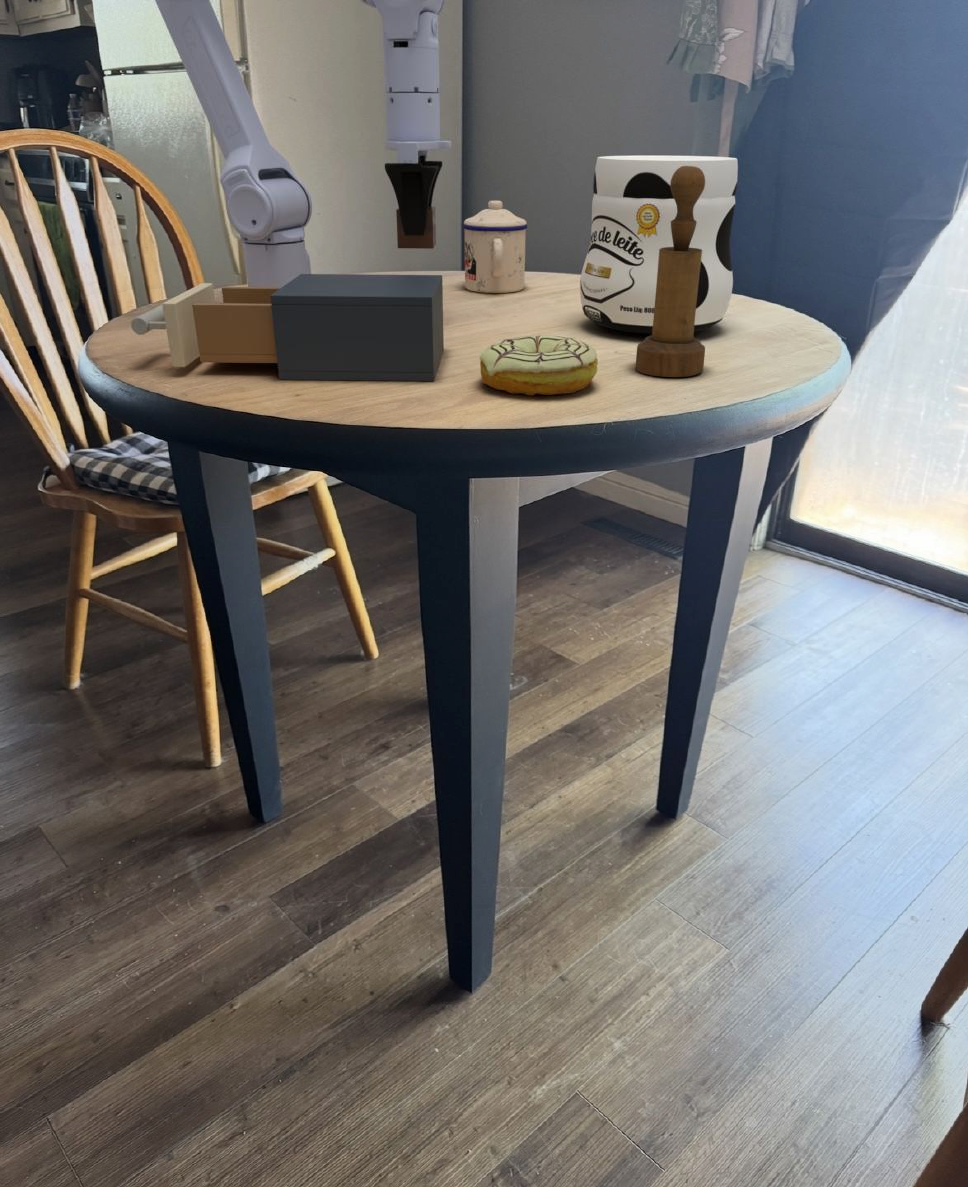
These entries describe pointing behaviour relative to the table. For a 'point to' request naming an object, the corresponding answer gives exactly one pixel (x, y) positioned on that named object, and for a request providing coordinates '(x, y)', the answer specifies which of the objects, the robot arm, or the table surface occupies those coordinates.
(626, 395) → the table surface
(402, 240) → the block
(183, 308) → the drawer
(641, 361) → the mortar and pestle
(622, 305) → the milk container
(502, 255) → the teacup with lid
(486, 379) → the decorated donut
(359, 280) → the cabinet
